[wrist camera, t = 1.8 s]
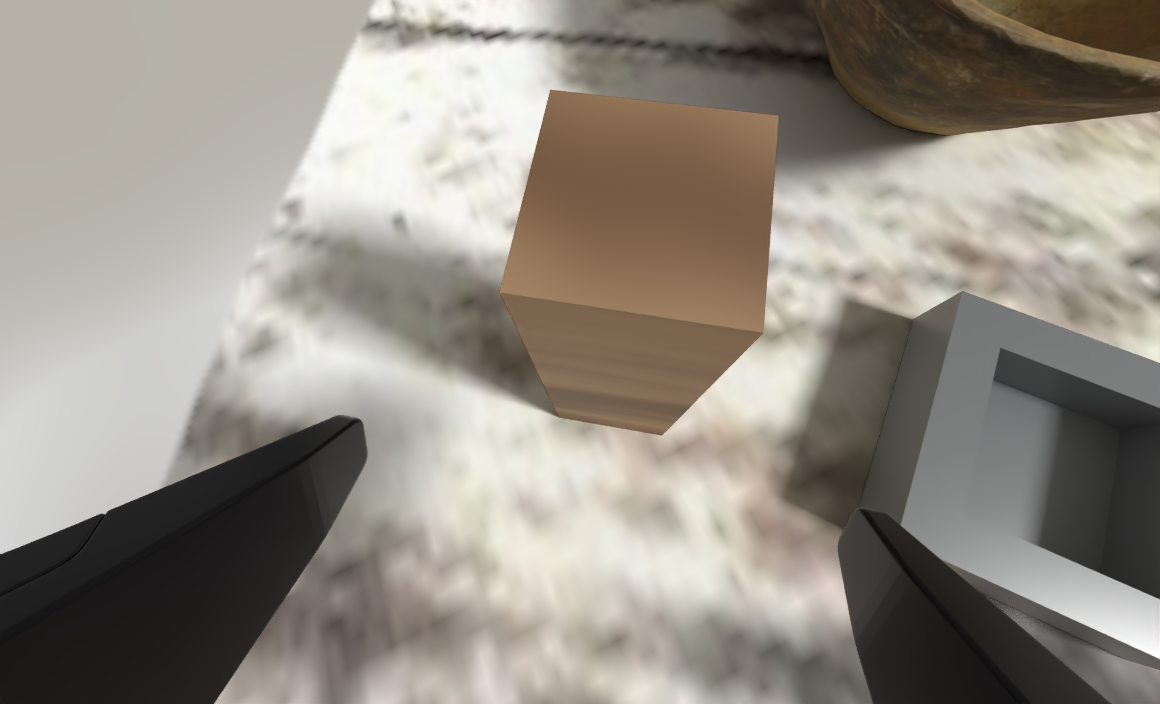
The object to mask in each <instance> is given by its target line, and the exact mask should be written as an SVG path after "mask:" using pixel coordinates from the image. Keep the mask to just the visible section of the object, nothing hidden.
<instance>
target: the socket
mask: <svg viewBox="0 0 1160 704" xmlns="http://www.w3.org/2000/svg"><path fill="white" fill-rule="evenodd" d="M860 507H863V508H869V509H875V510H880V511H883V512H885V513H887V514H888V515H889V516H890V517H892V518H893V519H894V520H895V521H896V522H897V523H899V524H900V525H901V526H902V527H903V528H905V529H906V530H907V531H908V532H909V533H910V534H912V535H913V536H914V537H915V538H916V539H918V540H919V541H920V542H921V543H922V544H923V545H925V546H926V547H927V548H928V549H929V550H931V551H932V552H933V553H934V554H935V555H936V556H938V557H939V558H940V559H941V560H942V561H944V562H945V563H946V564H947V565H948V566H949V567H951V568H952V569H953V570H954V571H955V572H957V573H958V574H959V575H960V576H961V577H962V578H964V579H965V580H966V581H967V582H968V583H970V584H971V585H972V586H973V587H974V588H975V589H977V590H978V591H979V592H980V593H982V594H985V595H987V596H989V597H991V598H993V599H995V600H998V601H1000V602H1002V603H1004V604H1006V605H1008V606H1011V607H1013V608H1015V609H1017V610H1019V611H1021V612H1024V613H1026V614H1028V615H1030V616H1032V617H1034V618H1037V619H1039V620H1041V621H1043V622H1045V623H1047V624H1050V625H1052V626H1054V627H1056V628H1058V629H1060V630H1063V631H1065V632H1067V633H1069V634H1071V635H1073V636H1076V637H1078V638H1080V639H1082V640H1084V641H1086V642H1089V643H1091V644H1093V645H1095V646H1097V647H1100V648H1102V649H1104V650H1106V651H1108V652H1110V653H1113V654H1115V655H1117V656H1119V657H1121V658H1123V659H1126V660H1129V661H1132V662H1135V663H1139V664H1142V665H1145V666H1149V667H1152V668H1155V669H1159V670H1160V363H1158V362H1155V361H1153V360H1150V359H1147V358H1144V357H1142V356H1139V355H1136V354H1133V353H1131V352H1128V351H1125V350H1122V349H1120V348H1117V347H1114V346H1111V345H1109V344H1106V343H1103V342H1100V341H1098V340H1095V339H1092V338H1090V337H1087V336H1084V335H1081V334H1079V333H1076V332H1073V331H1070V330H1068V329H1065V328H1062V327H1059V326H1057V325H1054V324H1051V323H1048V322H1046V321H1043V320H1040V319H1037V318H1035V317H1032V316H1029V315H1027V314H1024V313H1021V312H1018V311H1016V310H1013V309H1010V308H1007V307H1005V306H1002V305H999V304H996V303H994V302H991V301H988V300H985V299H983V298H980V297H977V296H974V295H972V294H969V293H966V292H964V291H962V292H960V293H958V294H957V295H955V296H953V297H951V298H950V299H948V300H946V301H944V302H943V303H941V304H939V305H937V306H936V307H934V308H932V309H930V310H929V311H927V312H925V313H923V314H922V315H920V316H918V317H916V318H915V319H913V323H912V326H911V330H910V333H909V337H908V340H907V344H906V347H905V350H904V354H903V357H902V361H901V364H900V368H899V371H898V375H897V378H896V381H895V385H894V388H893V392H892V395H891V399H890V402H889V406H888V409H887V412H886V416H885V419H884V423H883V426H882V430H881V433H880V437H879V440H878V443H877V447H876V450H875V454H874V457H873V461H872V464H871V468H870V471H869V474H868V478H867V481H866V485H865V488H864V492H863V495H862V499H861V502H860V505H859V508H860Z"/></svg>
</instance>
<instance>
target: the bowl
mask: <svg viewBox="0 0 1160 704" xmlns="http://www.w3.org/2000/svg"><path fill="white" fill-rule="evenodd" d="M810 1H811V3H812V6H813V8H814V11H815V14H816V16H817V19H818V22H819V24H820V27H821V30H822V32H823V35H824V39H825V43H826V47H827V51H828V56H829V60H830V64H831V68H832V70H833V72H834V74H835V76H836V78H837V79H838V81H839V82H840V84H841V86H842V87H843V88H844V89H845V90H846V91H847V92H848V94H849V95H850V96H851V97H852V98H853V99H854V100H856V101H857V102H858V103H859V104H861V105H862V106H863V107H864V108H866V109H867V110H869V111H871V112H872V113H874V114H876V115H878V116H879V117H881V118H883V119H884V120H886V121H888V122H890V123H892V124H894V125H896V126H899V127H902V128H906V129H909V130H915V131H922V132H929V133H935V134H940V135H957V134H964V133H974V132H983V131H991V130H1000V129H1009V128H1018V127H1023V126H1029V125H1040V124H1051V123H1062V122H1073V121H1080V120H1088V119H1096V118H1104V117H1113V116H1122V115H1131V114H1140V113H1149V112H1157V111H1160V0H810Z"/></svg>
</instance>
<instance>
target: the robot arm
mask: <svg viewBox="0 0 1160 704" xmlns="http://www.w3.org/2000/svg"><path fill="white" fill-rule="evenodd" d="M366 460H367V445H366V439H365V432H364V426H363V422H362V421H361V420H360V419H359V418H355V417H350V416H344V415H338V416H335V417H332V418H330V419H328V420H325V421H323V422H320V423H318V424H316V425H313V426H311V427H308V428H306V429H304V430H301V431H299V432H296V433H294V434H292V435H289V436H287V437H284V438H282V439H280V440H277V441H275V442H272V443H270V444H268V445H265V446H263V447H260V448H258V449H256V450H253V451H251V452H248V453H246V454H244V455H241V456H239V457H236V458H234V459H232V460H229V461H227V462H224V463H222V464H220V465H217V466H215V467H212V468H210V469H208V470H205V471H203V472H200V473H198V474H196V475H193V476H191V477H188V478H186V479H184V480H181V481H179V482H176V483H174V484H172V485H169V486H167V487H164V488H162V489H160V490H157V491H155V492H152V493H150V494H148V495H145V496H143V497H140V498H138V499H136V500H133V501H131V502H128V503H126V504H124V505H121V506H119V507H116V508H114V509H111V510H109V511H108V512H107V513H106V515H105V514H99V515H97V516H94V517H92V518H90V519H87V520H85V521H83V522H80V523H78V524H76V525H73V526H71V527H68V528H66V529H63V530H61V531H58V532H56V533H53V534H51V535H48V536H46V537H43V538H41V539H39V540H36V541H33V542H31V543H28V544H26V545H24V546H21V547H19V548H16V549H14V550H11V551H8V552H5V553H3V554H0V704H214V703H215V701H216V700H217V698H218V697H219V695H220V694H221V692H222V691H223V689H224V688H225V686H226V685H227V684H228V682H229V681H230V679H231V678H232V676H233V675H234V673H235V672H236V670H237V669H238V667H239V666H240V664H241V663H242V661H243V660H244V658H245V657H246V655H247V654H248V652H249V651H250V649H251V648H252V646H253V645H254V643H255V642H256V640H257V639H258V637H259V636H260V634H261V633H262V631H263V630H264V628H265V627H266V626H267V624H268V623H269V621H270V620H271V618H272V617H273V615H274V614H275V612H276V611H277V609H278V608H279V606H280V605H281V603H282V602H283V600H284V599H285V597H286V596H287V594H288V593H289V591H290V590H291V588H292V587H293V585H294V584H295V582H296V581H297V579H298V578H299V576H300V575H301V573H302V572H303V570H304V569H305V568H306V566H307V565H308V563H309V562H310V560H311V559H312V557H313V556H314V554H315V553H316V551H317V550H318V548H319V547H320V545H321V543H322V542H323V540H324V539H325V537H326V536H327V534H328V532H329V530H330V529H331V527H332V525H333V523H334V521H335V520H336V518H337V516H338V514H339V512H340V510H341V508H342V506H343V505H344V503H345V501H346V499H347V497H348V495H349V493H350V492H351V490H352V488H353V486H354V484H355V482H356V480H357V478H358V477H359V475H360V473H361V471H362V469H363V467H364V465H365V463H366ZM838 556H839V562H840V567H841V572H842V578H843V583H844V588H845V594H846V599H847V604H848V610H849V615H850V620H851V626H852V630H853V635H854V640H855V644H856V647H857V651H858V655H859V658H860V662H861V665H862V668H863V672H864V675H865V679H866V682H867V685H868V689H869V692H870V695H871V699H872V702H873V704H1111V703H1110V702H1109V701H1108V700H1107V699H1105V698H1104V697H1103V696H1102V695H1101V694H1100V693H1098V692H1097V691H1096V690H1095V689H1094V688H1092V687H1091V686H1090V685H1089V684H1088V683H1087V682H1085V681H1084V680H1083V679H1082V678H1081V677H1079V676H1078V675H1077V674H1076V673H1075V672H1074V671H1072V670H1071V669H1070V668H1069V667H1068V666H1066V665H1065V664H1064V663H1063V662H1062V661H1061V660H1059V659H1058V658H1057V657H1056V656H1055V655H1053V654H1052V653H1051V652H1050V651H1049V650H1048V649H1046V648H1045V647H1044V646H1043V645H1042V644H1040V643H1039V642H1038V641H1037V640H1036V639H1035V638H1033V637H1032V636H1031V635H1030V634H1029V633H1027V632H1026V631H1025V630H1024V629H1023V628H1022V627H1020V626H1019V625H1018V624H1017V623H1016V622H1014V621H1013V620H1012V619H1011V618H1010V617H1009V616H1007V615H1006V614H1005V613H1004V612H1003V611H1001V610H1000V609H999V608H998V607H997V606H996V605H994V604H993V603H992V602H991V601H990V600H988V599H987V598H986V597H985V596H984V595H983V594H981V593H980V592H979V591H978V590H977V589H975V588H974V587H973V586H972V585H971V584H970V583H968V582H967V581H966V580H965V579H964V578H962V577H961V576H960V575H959V574H958V573H957V572H955V571H954V570H953V569H952V568H951V567H949V566H948V565H947V564H946V563H945V562H944V561H942V560H941V559H940V558H939V557H938V556H936V555H935V554H934V553H933V552H932V551H931V550H929V549H928V548H927V547H926V546H925V545H923V544H922V543H921V542H920V541H919V540H918V539H916V538H915V537H914V536H913V535H912V534H910V533H909V532H908V531H907V530H906V529H905V528H903V527H902V526H901V525H900V524H899V523H897V522H896V521H895V520H894V519H893V518H892V517H890V516H889V515H888V514H887V513H885V512H883V511H880V510H875V509H869V508H863V507H860V508H857V509H856V510H854V512H853V513H852V515H851V517H850V519H849V521H848V523H847V525H846V527H845V528H844V530H843V532H842V534H841V536H840V538H839V542H838Z"/></svg>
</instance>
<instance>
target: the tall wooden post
mask: <svg viewBox="0 0 1160 704" xmlns="http://www.w3.org/2000/svg"><path fill="white" fill-rule="evenodd" d="M778 121H779V116H778V115H769V114H760V113H752V112H743V111H734V110H725V109H716V108H707V107H698V106H690V105H681V104H672V103H663V102H654V101H645V100H636V99H628V98H619V97H610V96H601V95H592V94H583V93H574V92H566V91H557V90H550V93H549V97H548V101H547V105H546V109H545V113H544V117H543V121H542V125H541V129H540V133H539V137H538V141H537V145H536V149H535V153H534V157H533V161H532V165H531V169H530V173H529V177H528V181H527V185H526V189H525V193H524V196H523V200H522V204H521V208H520V212H519V216H518V220H517V224H516V228H515V232H514V236H513V240H512V244H511V248H510V252H509V256H508V260H507V264H506V268H505V272H504V276H503V280H502V284H501V288H500V292H499V293H500V295H501V297H502V299H503V301H504V303H505V305H506V307H507V309H508V311H509V314H510V316H511V318H512V320H513V322H514V324H515V326H516V328H517V330H518V332H519V335H520V337H521V339H522V341H523V343H524V345H525V347H526V349H527V351H528V353H529V356H530V358H531V360H532V362H533V364H534V366H535V368H536V370H537V372H538V374H539V376H540V379H541V381H542V383H543V385H544V387H545V389H546V391H547V393H548V395H549V397H550V400H551V402H552V404H553V406H554V408H555V410H556V412H557V414H558V416H559V417H560V418H565V419H571V420H577V421H583V422H588V423H594V424H600V425H605V426H611V427H617V428H623V429H628V430H634V431H640V432H645V433H651V434H657V435H663V434H664V433H665V432H666V431H667V430H668V429H669V428H670V427H671V426H672V425H673V424H674V423H675V422H676V421H677V420H678V419H679V418H680V417H681V416H682V415H683V414H684V413H685V412H686V411H687V410H688V409H689V408H690V407H691V406H692V405H693V404H694V403H695V402H696V400H697V399H698V398H699V397H700V396H701V395H702V394H703V393H704V392H705V391H706V390H707V389H708V388H709V387H710V386H711V385H712V384H713V383H714V382H715V381H716V380H717V379H718V378H719V377H720V376H721V375H722V374H723V373H724V372H725V371H726V370H727V369H728V368H729V367H730V366H731V365H732V364H733V363H734V362H735V361H736V360H737V359H738V358H739V357H740V356H741V355H742V354H743V353H744V352H745V351H746V350H747V349H748V348H749V347H750V346H751V345H752V344H753V343H754V342H755V341H756V340H757V339H758V338H759V337H760V336H761V335H762V334H763V330H764V317H765V303H766V289H767V275H768V261H769V247H770V233H771V219H772V205H773V191H774V177H775V163H776V149H777V135H778Z"/></svg>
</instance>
